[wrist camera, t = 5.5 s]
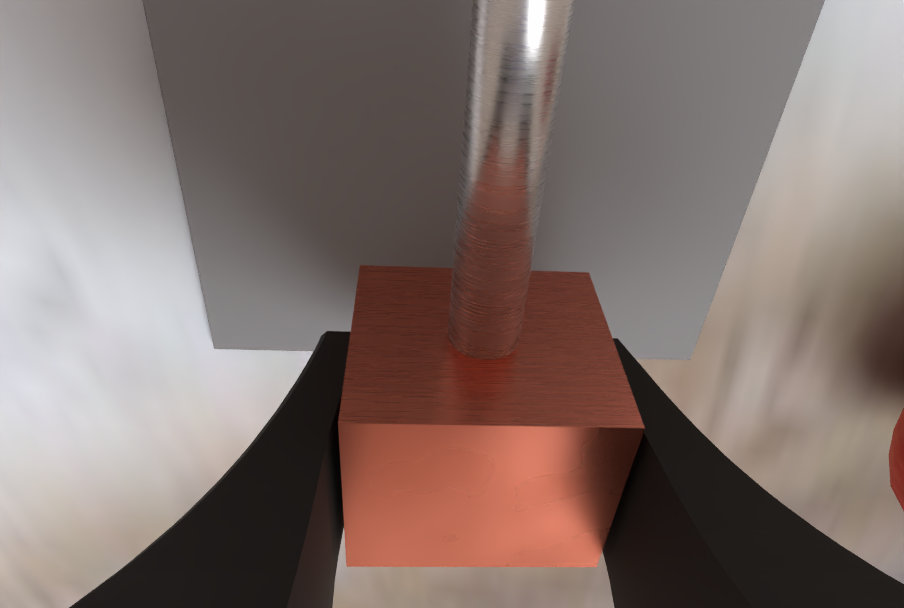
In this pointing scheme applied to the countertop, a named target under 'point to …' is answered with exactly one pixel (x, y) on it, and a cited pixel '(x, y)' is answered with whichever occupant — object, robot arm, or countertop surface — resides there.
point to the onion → (897, 460)
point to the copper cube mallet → (488, 353)
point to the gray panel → (440, 143)
